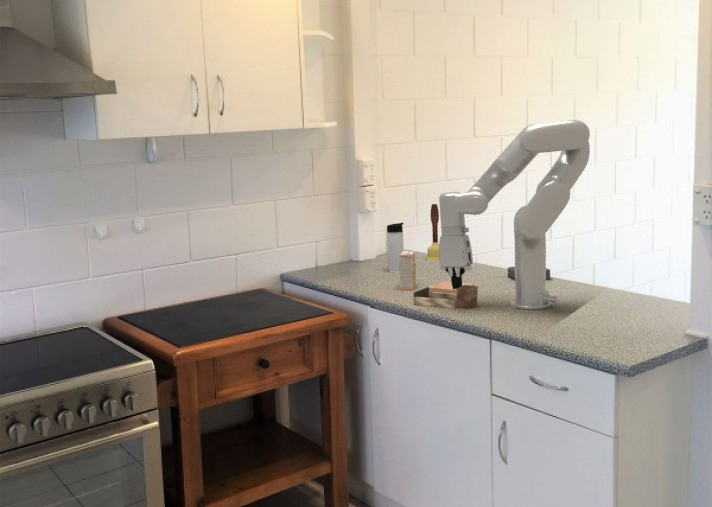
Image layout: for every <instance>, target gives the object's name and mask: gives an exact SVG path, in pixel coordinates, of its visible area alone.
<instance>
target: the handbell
mask: <svg viewBox="0 0 712 507" xmlns="http://www.w3.org/2000/svg"><path fill="white" fill-rule="evenodd" d="M439 216H440V210H439V207H438V203H432V204H431V207H430V222H431V227H432V228H431V230H432V243H431V245H430V246H428V248H427V257H426V259H427V260H432V261H439V234H438V233H439V231H438V229H439V228H438V225H439V219H440V217H439ZM426 259H425V260H426Z"/></svg>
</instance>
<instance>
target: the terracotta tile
mask: <svg viewBox="0 0 712 507" xmlns="http://www.w3.org/2000/svg"><path fill="white" fill-rule="evenodd" d="M463 285H470V286H476V284H475V283H470V282H462V286H463ZM428 287H429V292H438V293H449V294H457V289H453V286H452V283H451V281H446V280H443V281H441V282H439V283H436V284H433V285H431V286H428Z"/></svg>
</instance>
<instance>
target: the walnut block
mask: <svg viewBox="0 0 712 507" xmlns="http://www.w3.org/2000/svg"><path fill="white" fill-rule="evenodd" d="M478 288H479V286H478V285H477V286H476V285H475V286H470V285H463V286H461V287H459V288H457V300H456V302H455V308H462V309H467V310H470V309H472V308H474V307H477V305H478V294H479V293H478V291H479V289H478Z"/></svg>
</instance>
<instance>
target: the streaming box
mask: <svg viewBox="0 0 712 507" xmlns="http://www.w3.org/2000/svg"><path fill="white" fill-rule="evenodd" d="M507 278H509V279H510V280H512V281H514V282H515V266H508V267H507ZM546 280H548V281H550V280H551V269H549V268H548V267H547V268H546Z"/></svg>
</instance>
